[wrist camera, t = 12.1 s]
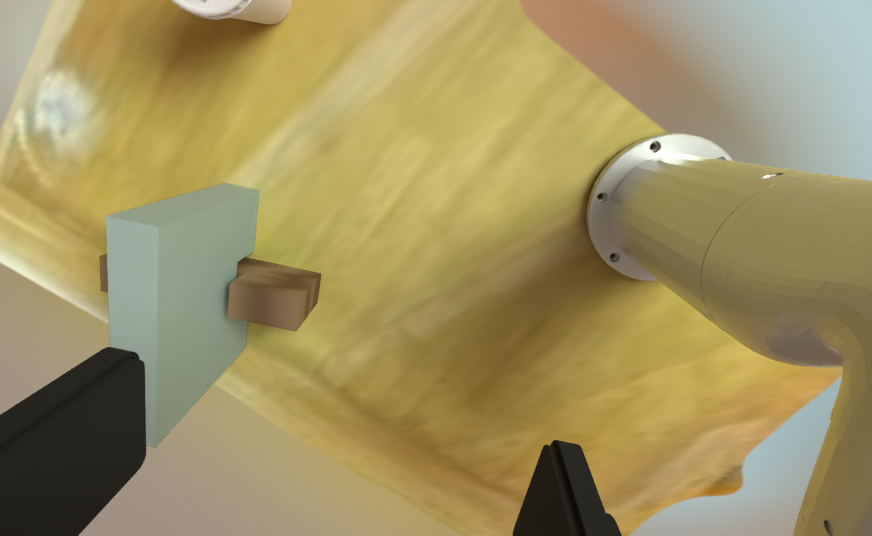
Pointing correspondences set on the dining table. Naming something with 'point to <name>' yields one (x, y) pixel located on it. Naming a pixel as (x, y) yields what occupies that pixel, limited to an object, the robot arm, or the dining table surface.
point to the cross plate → (179, 293)
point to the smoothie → (239, 9)
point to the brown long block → (264, 293)
